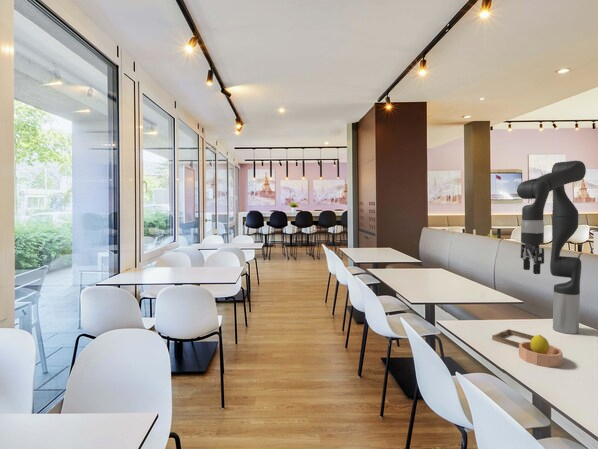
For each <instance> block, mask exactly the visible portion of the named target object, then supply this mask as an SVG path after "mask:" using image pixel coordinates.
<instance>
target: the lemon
mask: <svg viewBox="0 0 598 449" xmlns="http://www.w3.org/2000/svg"><path fill="white" fill-rule="evenodd" d="M533 336H534V337H533V338H532V339H531V340H530V342H531V343H530V346H531V349H532V351H533V352H535V353H539V354H547V353H548V351H549V345H550V344H549V341H548V339H547V338H545V337H544V336H542V334H538V335H533Z"/></svg>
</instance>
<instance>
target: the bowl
mask: <svg viewBox="0 0 598 449" xmlns="http://www.w3.org/2000/svg"><path fill="white" fill-rule="evenodd" d="M518 343H519V348H518V356H519V358H520V359H521V360H523V361H525V362H526V363H528V364H532V365H534V366H539V367H547V368H559V367H560V366H562V365H563V357H564V356H563V354H564V353H563V352H562V350H561V349H560V348H558V347H555V346H554V345H550V344H549V351H548V353H547V354H539V353H535V352H533V351H532V349H531V346H530V343H531V341H522V342H518Z"/></svg>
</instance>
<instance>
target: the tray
mask: <svg viewBox="0 0 598 449" xmlns="http://www.w3.org/2000/svg"><path fill="white" fill-rule="evenodd" d="M508 335H512V336H515V337H518V338H521V339H526V340H530V341H531V339H532V338H533V337H534V336H535V335H531V334H528V333H525V332H521V331H517V330H513V329H509V328H508V329H505V330H502V331H500V332H498V333H495V334H493V335H492V336H491V340H492V341H494V342H495V341H496V342H498V343H500V344H501V343H503V344H505V345H509V346H511V347H514V346H515V347H514V348H517V349H519V343H520V342H519V341H515V340H511V339H508V338H504V337H506V336H508Z"/></svg>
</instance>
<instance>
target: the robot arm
mask: <svg viewBox="0 0 598 449" xmlns="http://www.w3.org/2000/svg"><path fill="white" fill-rule="evenodd" d="M586 168H587V167H586V165H585V163H584V161H581V160H570V161H560V162H555V163H554V164H553V165H552V169H551V172H548V173H545V174H542V175H541V176H538V177H536V178H532V179H528V180H524V181H522V182H520V184H518V185H517V188H516V194H517V196H518V197H519V198H521V199H523V200H534V202H533V203H532V204H531V203H530V204H527V205H523V206H522V209H521V226H520V242H521V245H520V259H522V261H523V263H522V264H523V265H522V266H523V267H522V269H523V270H524V271H530V270H531V261H532V264H533V265H532V273H533V274H534V275H540V274H541V265H544V264H545V249H544V247H540V245H542V244H544V243H545V242H544V241H545V240H544V239H545V237H544V236H545V224H544V212H545V211H544V210H545V206H546V202H547V199H548V198H549V195H550V192H551V191H552V215H551V233H552V235H551V238H552V239H551V240H552V242H551V252H550V262H549V263H550V265H549V270H550V274H551V275H552V276H554V277H561V278H569V279H570V280H568V281H566V282H562V283H557V284H556V283H555V285H553V306H552V307H553V308H552V329H553V330H554V331H557V332H560V333H564V334H570V335H576V334H577V335H578V334H579V333H580V306H581V304H580V296H581V277H582V276H581V275H582V261H581V259H580V257H576V256H575V257H574V256H562V255H560V254H561V251H562V249H563V247H564V246H565V244H566V243H567V241H569V239H571V237H572V236H573V235H574V234H575V232H576V231H577V229H578V228H579V211H578V209H577V207H576V206H575V204H574V202H572V201H571V200H570V197H568V194H567V193H566V189H565V186H566V185H567V184H568V185H569V184H571V183H576V182H580V181H582V180H584V178H585V176H586V172H587V169H586Z"/></svg>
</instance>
